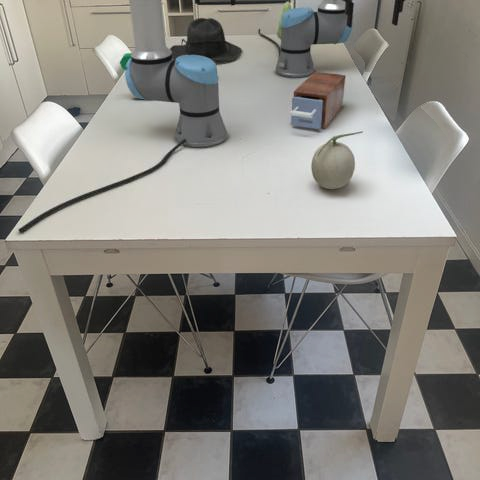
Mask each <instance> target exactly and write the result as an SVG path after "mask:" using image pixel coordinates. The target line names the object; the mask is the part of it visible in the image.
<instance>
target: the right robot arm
mask: <svg viewBox="0 0 480 480" xmlns="http://www.w3.org/2000/svg"><path fill="white" fill-rule="evenodd" d="M405 2H406V0H394V5H393V11H392V12H393V13H392V17H391V18H392V20H391V25H393V26H394V27H395V26H398V22H399V17H400V13H402V12H403V10H404V3H405ZM354 6H355V3H354V2H353V0H321V2H320V3H319V4H318V6H317V11H314V10H313V8H312V7H308V6H307V7H305V6H304V7H303V6H302V7H295V8H292V9H291V10H288V11H286V12H285V13H284V14H283V15H282V22H281V39H280V45H279V44H278V43H277V42H276V40H274V39H272V38H270V37H269V36H267V35H265V34H263V33H261V29H260V28H259V29H258V30H257V32H258V33H257V34H258V35H259V36H261V37H262V38H265V39H267V40H269V41H270V42H272V43H273V44H274V45H275V46H276V47H277V49H278V59H277V62H276V66H275V74H277V75H278V76H281V77H284V78H293V79H294V78H306V77H310V76H311V75H312V74H313V73H314V72H315V65H314V60H313V57H312V54H311V47H312V45H314V46H315V45H337V44H344V43H346V42H347V41H348V40H349V39H350V36H351V33H352V30H353V27H354V26H353V25H354V8H355V7H354Z"/></svg>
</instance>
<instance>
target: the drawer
mask: <svg viewBox="0 0 480 480" xmlns="http://www.w3.org/2000/svg"><path fill="white" fill-rule="evenodd" d="M323 103H324V98H318V97H311V96H303V95H299V96H298V97H294V96H293V97H292V98H291V110H290V112H289V115H290V116H291V118H290V119H291V120H290V121H291V122H290V124H291V126H295V127H303V128H307V129H308V128H309V129H314V130H322V129H321V123H322V116H323Z"/></svg>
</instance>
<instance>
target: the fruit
mask: <svg viewBox="0 0 480 480" xmlns="http://www.w3.org/2000/svg"><path fill="white" fill-rule="evenodd" d="M362 133H364V131H363V130H361V131H357V132H350V133H343V134H339V135H334V136H332V137H330V139H329V140H328V141H327V142H325V143H324V144H322V145H320V146H319V147H318V148H317V149H316V151H314V153H313V156H312V160H311V165H310V166H311V174H312V178H313V179H314V181H315V182H316V183H317V184H318V185H319V186H321V187H322V188H324V189H326V190H336V189H340V188H342V187H344V186H346V185H347V184H348V183H349V182H350V180H351V179H352V177H353V175H354V173H355V169H356V160H355V156H354V153H353V151H352V150H351V148H350V147H349V146H348V145H346V144H345V143H343V142H339V141H337V140H338V139H341V138H344V137H349V136H354V135H358V134H362Z"/></svg>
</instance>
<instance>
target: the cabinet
mask: <svg viewBox="0 0 480 480" xmlns="http://www.w3.org/2000/svg"><path fill="white" fill-rule="evenodd" d="M345 85H346V74H340V73H339V74H338V73H331V72H330V73H329V72H322V71H321V72H320V71H314V73H313V74H312V75H310V76H308V77H307V78H306V79H305V80H304V81H303V82H302V83H301V84H300V85H299V86H298V87H296V89H294V91H293V97H298V96H299V95H303V96H311V97H318V98H324V103H323V116H322V123H321V129H320V130H325V129H326V128H327V126H328V125H329V124H330V123H331V122H332V120H333V119H334V118H335V117H336V116H337V114H338V113H339V111H340V110H341V109H342V108H343V104H344V95H345V94H344V93H345Z"/></svg>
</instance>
